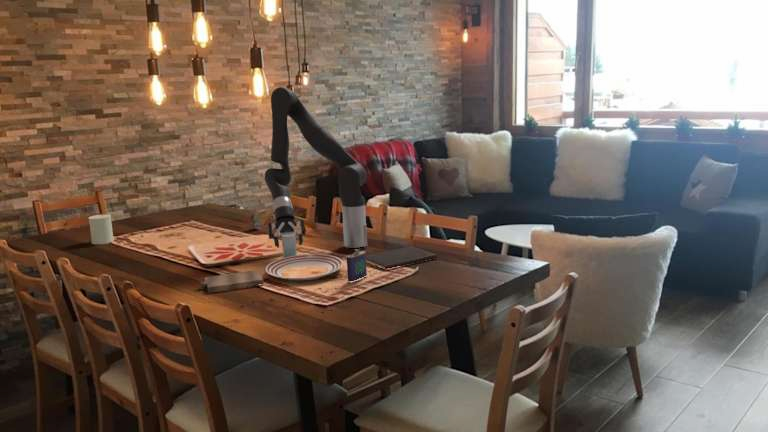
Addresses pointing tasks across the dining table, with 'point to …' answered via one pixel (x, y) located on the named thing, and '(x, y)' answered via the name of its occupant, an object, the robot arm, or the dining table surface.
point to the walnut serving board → (231, 281)
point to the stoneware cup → (289, 244)
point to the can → (101, 229)
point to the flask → (356, 265)
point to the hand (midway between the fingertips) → (289, 245)
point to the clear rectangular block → (262, 219)
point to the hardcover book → (400, 257)
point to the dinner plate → (304, 264)
